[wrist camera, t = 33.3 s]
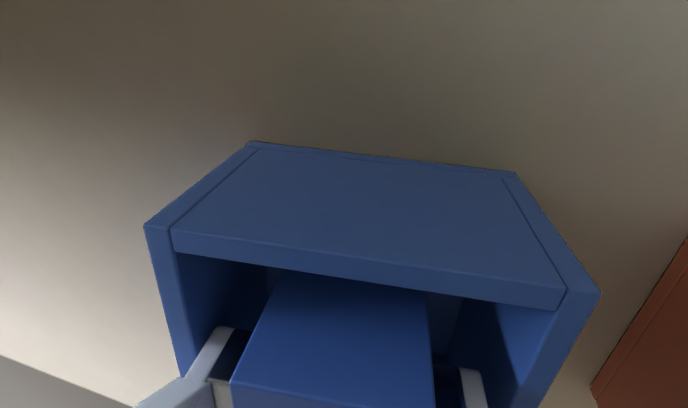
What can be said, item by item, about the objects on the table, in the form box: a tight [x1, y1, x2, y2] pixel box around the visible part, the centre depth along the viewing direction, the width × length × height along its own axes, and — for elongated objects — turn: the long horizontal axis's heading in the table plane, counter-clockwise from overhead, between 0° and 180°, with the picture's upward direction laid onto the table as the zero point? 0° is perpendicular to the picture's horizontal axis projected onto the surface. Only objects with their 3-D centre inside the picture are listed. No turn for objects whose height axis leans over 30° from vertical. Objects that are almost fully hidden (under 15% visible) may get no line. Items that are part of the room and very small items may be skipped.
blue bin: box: [143, 141, 601, 408], centre depth 11 cm, size 9×9×6 cm
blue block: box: [229, 269, 436, 408], centre depth 9 cm, size 4×4×4 cm
